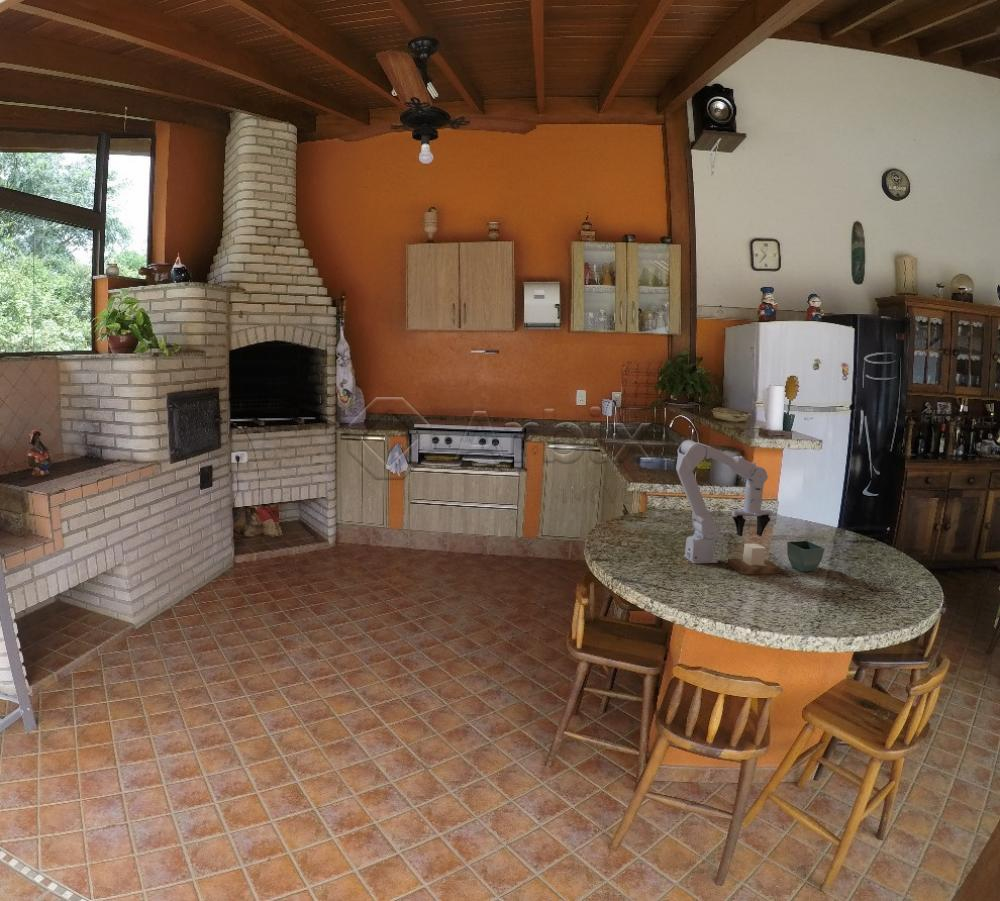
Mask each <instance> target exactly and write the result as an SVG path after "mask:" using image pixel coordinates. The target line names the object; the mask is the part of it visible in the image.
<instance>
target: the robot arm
mask: <svg viewBox="0 0 1000 901" xmlns="http://www.w3.org/2000/svg"><path fill="white" fill-rule="evenodd" d="M676 451H677V461H676V464H675V470H676V473H677V475H678V478H679V481H680V483H681V486H682V489H683V491H684V493H685V497H686V499H687V501H688V502H687V503H688V504H689V507H690V509H691V512H692V514H691V517H692V527H693V529H694V534H693V535H691V536H688V537H687V538H686V540H685V548H684V549H685V550H684V554H683V557H684V558H685V559H687V560H688V561H689V562H691V563H692V564H718V563H719V562H718V560H717V559H715V558H714V553H715V543H716V542H715V541H716V537H717V536H718V534H719V532H720V527H719V525H718V523H716V522H715V521H714V518H713V516H712V515H711V514H710V512H709V510H708V508H707V506H706V503H705V500H704V498H703V495H702V491H701V489H700V487H699V484H698V482H697V479H696V476H695V474H694V470H695V469H696V467H697V465H699V464H700V463H701V462H702V461H703V460H704V459H705V460H708V459H713V460H715V461H718V462H720V463H722V464H724V465H726V466H727V468H728V470H729V471H730V472H732V473H735V474H736V475H738V476H741V477H742V478H745V479H746V482H745V484H746V485H745V492H744V493H745V494H744V500H743V501H744V502H743V508H742V509H741V508H740V509H733V510H731V517H732V519H733V522H734V524H735V528H736V534H737V536H739V537H743V534H744V533H743V532H744V526H745V523H746V521H747V520H746V519H745V518H744V517H756V523H757V524H756V535H757V536H759V537H762V535H763V532H764V531H765V529H766V527H767V525H768V524H769V523H770V521H771V517H772V515H773V511H772V510H770V509H762V503H763V502H762V500H763V492H764V485H765V483H766V481H767V480H768V478H769V475H768V473H767V471H766V469H765V468H763V467H761V466H759V465H757V464H756V463H755V462H753V461H752V462H750V461H748V460H747V459H745V458H746V457H745V456H743V455H740V456H738V455H737V456H729V455H728V454H726V453H724V452H722V451H720V450H718V449H716V448H714V447H712V446H710V445H708V444H707V445H706V444H704V443H701V442H698V441H696V442H695V441H694V440H692V439H686V440H684V441H682V442H681V444H680V445H679V446H678V449H677V450H676Z"/></svg>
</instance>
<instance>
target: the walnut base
mask: <svg viewBox="0 0 1000 901" xmlns="http://www.w3.org/2000/svg"><path fill="white" fill-rule="evenodd" d="M726 564H727V565H728V566H730V567H731V568H732V569H734V570H736V571H737V572H739V573H740V574H741V575H760V574H761V575H762V574H765V575H766V574H768V575H769V574H780V573H781V567H780V566H779V565H777V564H775V563H773V562H772V561H770V560H768V559H766V558H765V559H764V565H750V564H749V563H747V562H745V561H744V560H743V557H742V558H736V557H735V558H727V563H726Z"/></svg>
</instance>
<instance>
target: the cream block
mask: <svg viewBox="0 0 1000 901" xmlns="http://www.w3.org/2000/svg"><path fill="white" fill-rule="evenodd" d="M743 545H744V547H743V555H742V558H743V560H744V561H745V562H747V563H749V564H750V565H764V559H766V558H765V557H766V550H767V549H766V548H767V547H764V546H763V545H761V544H759V543H757V542H756V543H744V544H743Z"/></svg>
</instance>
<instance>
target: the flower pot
mask: <svg viewBox="0 0 1000 901" xmlns="http://www.w3.org/2000/svg"><path fill="white" fill-rule="evenodd" d="M786 547H787V558H788V561H789V563H790V565H791V567H792V568H794V569H797V570H798V571H801V572H804V573H805V572H813V571H815V570H816V569H817V568H818V567H819V566H820V564H821V562H822V560H823V556H824V553H825V549H826V548H825V547H823V546H821V545H818V544H815V543H813V542H812V541H809V540H797V541H796V540H795V541H786Z"/></svg>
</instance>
